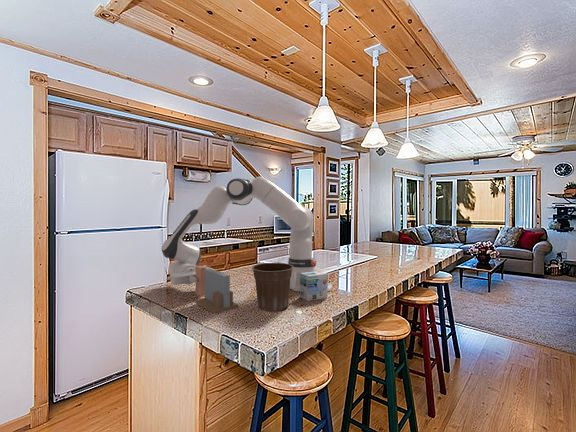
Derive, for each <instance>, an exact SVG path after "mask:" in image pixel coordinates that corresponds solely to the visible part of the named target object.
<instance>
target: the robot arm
mask: <svg viewBox="0 0 576 432" xmlns="http://www.w3.org/2000/svg"><path fill="white" fill-rule="evenodd" d="M254 198H255V199H256V200H259V201H260V202H261V203H262V204H263V205H264V206H266V207H267V208H268V209H270V210H271V211H273V213H275V214H276V216H278V217H279V218H280V219H281V220H282V221H283V222H284V223H285V224H286V225H287V226H289V227H290V238H289V254H288V255H289V257H288V259H287V260H288V261H287V264H290V265H292V266H293V269H292V276H291V279H290V290H291V291H294V292H300V273H306V272H315V271H321V272H324V271H323V270H322V269H320V268H319V267H318V266H317V259H315V258H313V235H314V234H313V233H314V214H313V213H314V212H313V211H312V210H311V209H310V208H308V207H305V206H303V205H301V204H300V203H298V202H297V201H296V200H295V199H294V198H293V197H292V196H291V195H289V194H288V193H287V192H285V191H284V190H283V189H282V188H280V187H279V186H278V185H277V184H275V183H274V182H272V181H271V180H269V179H267V178H265V177H263V176H257V177H255V178H254V179H252V180H249V179H245V178H239V177H238V178H232V179H230V181H228V183H227V185H226V187H225V186H222V185H216V186H214V187H212V189H211V190H210V192H209V193H208V195H207V196H206V198H205V200H204V201H203V203H202V204H201V205H200V207H197V208H196V209H192V210H191V211H189V212H188V214H187V215H186V216H185V217H184V218H183V220H182V221H181V222H180V223H179V225H178V226H177V227H176V229H175V230H174V231H173V233H171V234H170V236H169V237H168V238H166V239H165V241H164V242H163V243H162V246H161V252H162V254H163V256H164V258H166V259H170V260H174V261H171V263H170V264H168V269H167V271H168V273H169V276H168V277H166V279H167V280H170V283H171V284H172V285H175V286H177V285H192V284H193V283H195V284H196V282H199V278H197V277H196V268H195V266H204V267H206V269H213V270H215V271H217V270H216V269H214V268H212V267H210V266H209V267H208V266H207V265H205V264H202V265H201V264H200V261H201V258H202V254H201V249H200V247H199V246H196V245H194V244H191V243H188V242H186V241H184V240H182V239H183V238H184V236H185V235H186V234H187V233H188V231H189V230H190V229H191V228H192V227H193V226H195V225H214V224H216V223H218V222H219V221H220V220H221V218H222V217H223V215H225V212H226V210H227V208H228V206H229V205H230V204H232V205H239V206H247V205H249V204H250V203H251V202H252V200H253V199H254ZM332 289H333V285H332V284H331V283H330V282H328V291H327V293H328V292H329V291H331V290H332Z"/></svg>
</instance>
